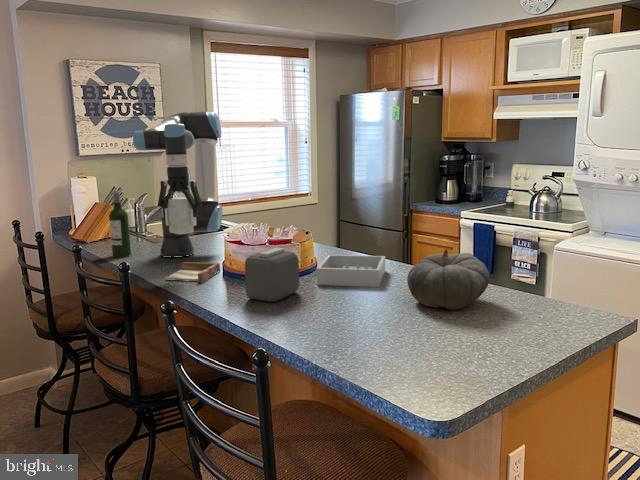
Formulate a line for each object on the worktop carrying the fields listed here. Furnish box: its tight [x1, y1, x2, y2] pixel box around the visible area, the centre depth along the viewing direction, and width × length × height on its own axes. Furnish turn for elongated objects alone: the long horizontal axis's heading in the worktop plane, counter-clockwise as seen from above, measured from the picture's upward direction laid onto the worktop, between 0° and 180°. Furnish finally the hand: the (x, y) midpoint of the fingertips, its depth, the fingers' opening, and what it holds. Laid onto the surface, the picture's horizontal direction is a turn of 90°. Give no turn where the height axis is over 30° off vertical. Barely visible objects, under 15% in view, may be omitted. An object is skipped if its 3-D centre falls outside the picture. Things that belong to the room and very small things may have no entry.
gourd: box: [406, 248, 491, 311], centre depth 171 cm, size 25×25×17 cm
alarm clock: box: [244, 247, 300, 303], centre depth 182 cm, size 16×11×16 cm
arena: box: [164, 261, 221, 283], centre depth 212 cm, size 17×16×4 cm
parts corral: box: [315, 254, 386, 288], centre depth 205 cm, size 22×22×6 cm
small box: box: [168, 196, 195, 235], centre depth 208 cm, size 8×6×13 cm
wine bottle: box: [108, 189, 132, 259], centre depth 249 cm, size 8×8×30 cm
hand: (181, 225), depth 209 cm, fingers closed on small box, 10 cm apart
